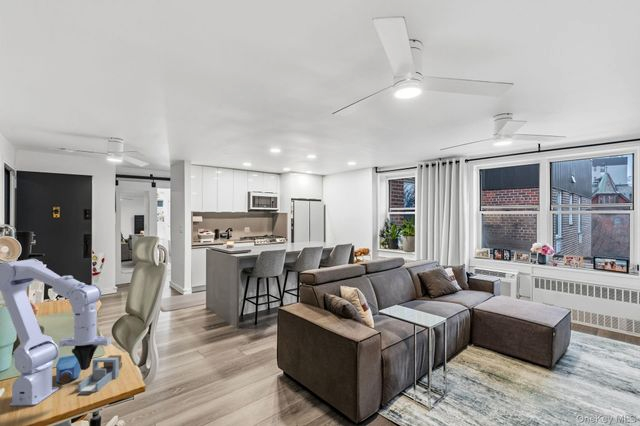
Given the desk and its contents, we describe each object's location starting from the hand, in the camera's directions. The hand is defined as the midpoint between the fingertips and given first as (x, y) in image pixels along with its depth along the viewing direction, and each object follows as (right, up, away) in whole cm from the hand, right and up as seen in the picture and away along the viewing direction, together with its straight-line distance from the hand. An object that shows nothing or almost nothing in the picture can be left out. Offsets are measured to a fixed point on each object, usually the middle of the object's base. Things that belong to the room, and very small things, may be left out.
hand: (85, 368), depth 100 cm
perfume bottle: (-18, -7, +17) cm, 26 cm away
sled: (-3, -9, +15) cm, 18 cm away
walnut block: (-3, -9, +18) cm, 20 cm away
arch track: (-3, -10, +11) cm, 15 cm away
